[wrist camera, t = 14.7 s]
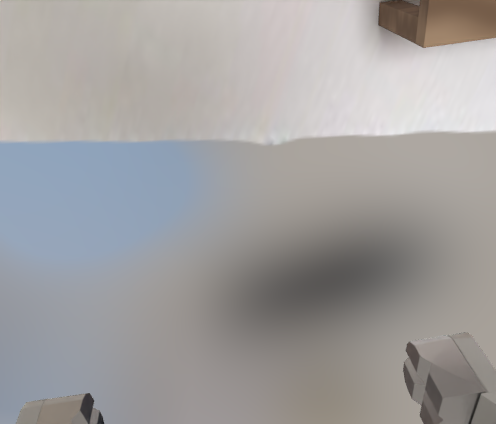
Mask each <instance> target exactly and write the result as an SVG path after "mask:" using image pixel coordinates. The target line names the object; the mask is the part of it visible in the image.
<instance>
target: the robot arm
mask: <svg viewBox="0 0 496 424" xmlns="http://www.w3.org/2000/svg"><path fill="white" fill-rule="evenodd" d="M406 352H407V354H408V356H409V358H407V359H406V360H405V362H404V368H403V372H404V378H405V383H406V386H407V389H408V391H409V393H410V396H411V398H412V399H413V400H414V401H416V402H418V403H419V404H420V405H421V411H420V417H421V419H422V421H423V423H424V424H496V369H495V368H494V366H493V365H492V364H491V362H490V361H489V359H488V358H487V356H486V355H485V353H484V352H483V351H482V349H481V348H480V346H479V345H478V343H477V342H476V341H475V339H474V338H473V336H472V335H470V334H469V333H459V334H453V335H448V336H446V335H444V336H438V337H432V338H427V339H421V340H415V341H410V342H409V343H408V344H407V347H406ZM93 404H94V399H93V398H92V396H91V394H90V393H87V394H79V395H73V396H66V397H59V398H52V399H44V400H38V401H31V402H26V404H25V405H24V406H23V408H22V409H21V411H20V414H19V417H18V419H17V422H16V424H104V421H103V416H102V414H101V412H100V411H99V410H97V409H95V408H93Z"/></svg>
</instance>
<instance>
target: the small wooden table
mask: <svg viewBox="0 0 496 424" xmlns="http://www.w3.org/2000/svg"><path fill="white" fill-rule="evenodd" d="M378 25H380V26H382V27H384V28H386V29H388V30H390V31H392V32H394V33H396V34H398V35H400V36H401V37H403V38H405V39H407V40H409V41H411V42H413V43H415V44H417V45H419V46H421V47H423V48H426V47H433V46H440V45H447V44H454V43H461V42H468V41H475V40H482V39H490V38H496V0H420V6H417V5H414V4H411V3H408V2H405V1H402V0H395V1H388V2H381V3H380V7H379V24H378Z"/></svg>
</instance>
